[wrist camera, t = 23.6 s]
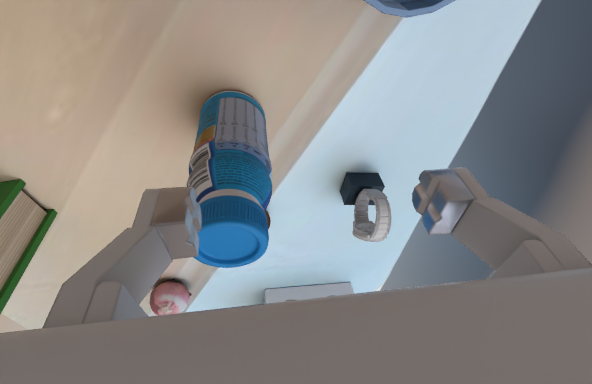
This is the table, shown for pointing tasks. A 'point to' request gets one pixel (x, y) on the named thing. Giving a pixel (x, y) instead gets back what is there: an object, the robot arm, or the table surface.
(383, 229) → the watch
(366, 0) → the bowl
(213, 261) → the beverage bottle
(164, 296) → the onion
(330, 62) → the table surface
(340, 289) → the gable box
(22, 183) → the hardback book
